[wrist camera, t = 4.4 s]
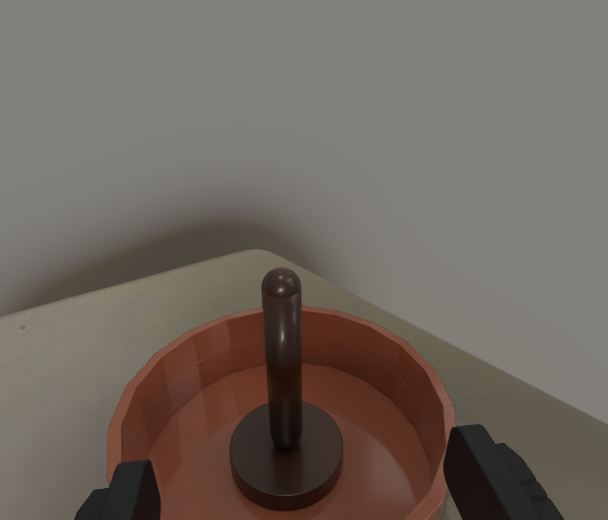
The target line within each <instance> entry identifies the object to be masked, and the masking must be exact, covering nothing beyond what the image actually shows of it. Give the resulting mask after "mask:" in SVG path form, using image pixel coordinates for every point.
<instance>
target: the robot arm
mask: <svg viewBox="0 0 608 520" xmlns="http://www.w3.org/2000/svg"><path fill="white" fill-rule="evenodd" d="M443 472H444V477H445V481H446V484H447V487H448V489H449V491H450V493H451V496H452V498H453V500H454V502H455V504H456V506H457V508H458V511H459V513H460V515H461V517H462V519H463V520H564V518H563V517H562V515H561V514H560V513H559V511H558V510H557V508H556V507H555V505H554V504H553V502H552V501H551V499H548V497H547V494H546V492H545V491H544V489H543V488H542V486H541V485H540V483H539V482H538V483H537V481H536V478H535V476H534V475H533V473H532V472H531V470H530V469H529V467H528V466H527V465H526V463H525V462H524V460H523V459H522V458H521V457H520V456H519V455H517V454H516V453H515V452H514V451H513V450H512V449H510V448H509V447H508V446H507V445H506V444H505V443H500V444H495V443H494V441H493V440H492V438H491V437H490V435H489V434H488V432H487V431H486V429H485V428H484V427H483V426H482V425H480V424H475V425H466V426H457V427H452V428H451V430H450V434H449V439H448V443H447V448H446V452H445V457H444V461H443ZM160 517H161V498H160V493H159V489H158V485H157V481H156V477H155V473H154V470H153V466H152V462H151V460H140V461H131V462H122V463H118V464H117V466H116V468H115V470H114V473H113V476H112V480H111V483H110V486H109V488H105V489H97V490H93V492H92V493H91V494H90V496H89V497H88V498H87V500H86V501H85V502H84V504H83V505H82V506H81V508H80V509H79V510H78V512H77V514H76V516H75V519H74V520H160Z"/></svg>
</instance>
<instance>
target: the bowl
mask: <svg viewBox="0 0 608 520" xmlns="http://www.w3.org/2000/svg"><path fill="white" fill-rule="evenodd" d="M301 316H302V401H304V402H308V403H311V404H313V405H315V406H317V407H319V408H321V409H322V410H324V411H325V412H326V413H328V414H329V415H330V416H331V417H332V418H333V419H334V421H335V422H336V424H337V425H338V427H339V429H340V432H341V435H342V439H343V463H342V469H341V473H340V476H339V478H338V480H337V482H336V483H335V485H334V486H333V488H332V489H331V490H330V491H329V492H328V493H327V494H326V495H325V496H324V497H323V498H322V499H320V500H319V501H317V502H316V503H314V504H312V505H309V506H307V507H304V508H301V509H296V510H288V511H281V510H273V509H268V508H265V507H263V506H260V505H258V504H256V503H254V502H253V501H251V500H250V499H249V498H247V497H246V496H245V495H244V494H243V493H242V491H241V490H240V489H239V488H238V486H237V484H236V482H235V480H234V477H233V475H232V470H231V463H230V453H229V448H230V441H231V438H232V435H233V433H234V430H235V429H236V427H237V425H238V424H239V423H240V421H241V420H242V419H243V418H244V417H245V416H246V415H247V414H248V413H250V412H251V411H252V410H254V409H256V408H257V407H259V406H261V405H264V404H266V403H268V390H267V373H266V357H265V340H264V323H263V308H262V307H260V308H256V309H251V310H247V311H242V312H238V313H233V314H229V315H225V316H222V317H220V318H217V319H215V320H213V321H210V322H208V323H206V324H203V325H201V326H199V327H196V328H194V329H191V330H189V331H187V332H186V333H184V334H183V335H181V336H180V337H178V338H177V339H176V340H174V341H173V342H171V343H170V344H168V345H167V346H166V347H164V348H163V349H161V350H160V351H158V352H157V353H155V355H153V356H152V357H151V359H150V360H149V361H148V362H147V363H146V364H145V365H144V367H143V368H142V369H141V370H140V371H139V372H138V373H137V375H136V376H135V377H134V378H133V379H132V380H131V381H130V383H129V384H128V385H127V387H126V388H125V390H124V392H123V395H122V397H121V399H120V402H119V404H118V406H117V408H116V411H115V413H114V415H113V418H112V420H111V422H110V424H109V428H108V450H107V478H108V481H109V484H110V483H111V480H112V476H113V473H114V470H115V468H116V466H117V464H118V463H122V462H131V461H140V460H151V462H152V466H153V470H154V473H155V477H156V481H157V485H158V489H159V493H160V498H161V517H160V520H442V519H443V516H444V512H445V508H446V504H447V500H448V496H449V492H450V491H449V489H448V487H447V484H446V481H445V477H444V472H443V461H444V457H445V452H446V448H447V443H448V439H449V434H450V430H451V428H452V427H457V426H456V417H455V408H454V405H453V403H452V401H451V399H450V397H449V395H448V393H447V391H446V389H445V387H444V386H443V384H442V382H441V380H440V378H439V376H438V374H437V372H436V370H435V369H434V368H433V367H432V366H431V365H430V364H429V363H428V362H427V361H426V360H425V359H424V358H423V357H422V356H421V355H420V354H419V353H418V352H417V351H416V350H415V349H414V348H413V347H412V346H411V345H410V344H409V343H408V342H406V341H405V340H403V339H402V338H400V337H398V336H396V335H395V334H393V333H391V332H390V331H388V330H386V329H384V328H383V327H381V326H379V325H378V324H376V323H374V322H371V321H368V320H365V319H362V318H359V317H356V316H353V315H350V314H347V313H344V312H341V311H337V310H330V309H323V308H315V307H307V306H301Z"/></svg>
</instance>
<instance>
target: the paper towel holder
mask: <svg viewBox="0 0 608 520" xmlns="http://www.w3.org/2000/svg"><path fill="white" fill-rule="evenodd" d="M261 289H262V306H263V323H264V340H265V357H266V373H267V390H268V403H266V404H264V405H261V406H259V407H257V408H256V409H254V410H252V411H251V412H250V413H248V414H247V415H246V416H245V417H244V418H243V419H242V420H241V421H240V423H239V424H238V425H237V427H236V429H235V430H234V433H233V435H232V438H231V441H230V448H229V453H230V463H231V470H232V475H233V477H234V480H235V482H236V484H237V486H238V488H239V489H240V490H241V491H242V493H243V494H244V495H245V496H246V497H247V498H249V499H250V500H251V501H253V502H254V503H256V504H258V505H260V506H263V507H265V508H268V509H273V510H281V511H288V510H296V509H301V508H304V507H307V506H309V505H312V504H314V503H316V502H317V501H319V500H320V499H322V498H323V497H324V496H325V495H326V494H327V493H328V492H329V491H330V490H331V489H332V488H333V486H334V485H335V483H336V482H337V480H338V478H339V476H340V473H341V469H342V463H343V439H342V435H341V432H340V429H339V427H338V425H337V424H336V422H335V421H334V419H333V418H332V417H331V416H330V415H329V414H328V413H326V412H325V411H324V410H322V409H321V408H319V407H317V406H315V405H313V404H311V403H308V402H304V401H302V316H301V282H300V279H299V277H298V276H297V274H296V273H295V272H293V271H292V270H290V269H288V268H282V267H281V268H275V269H273V270H271V271H269V272H268V273H267V274H266V275H265V277H264V279H263V281H262V288H261Z"/></svg>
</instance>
